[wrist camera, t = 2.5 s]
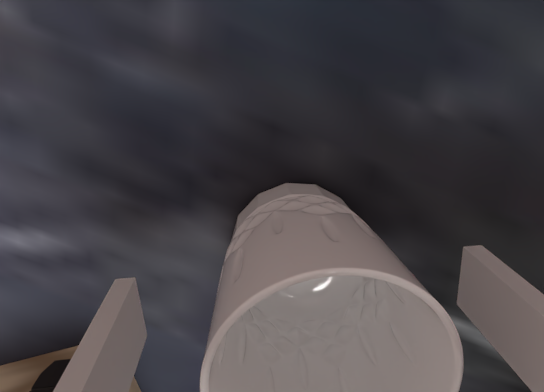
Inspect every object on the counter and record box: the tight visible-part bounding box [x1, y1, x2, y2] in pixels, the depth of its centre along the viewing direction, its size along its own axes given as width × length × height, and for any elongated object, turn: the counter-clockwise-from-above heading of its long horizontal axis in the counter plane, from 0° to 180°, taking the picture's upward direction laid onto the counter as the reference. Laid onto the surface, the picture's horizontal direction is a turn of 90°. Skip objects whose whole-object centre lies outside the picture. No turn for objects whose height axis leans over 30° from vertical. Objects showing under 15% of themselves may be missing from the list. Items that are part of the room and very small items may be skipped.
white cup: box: [200, 183, 464, 392], centre depth 16 cm, size 8×8×10 cm
